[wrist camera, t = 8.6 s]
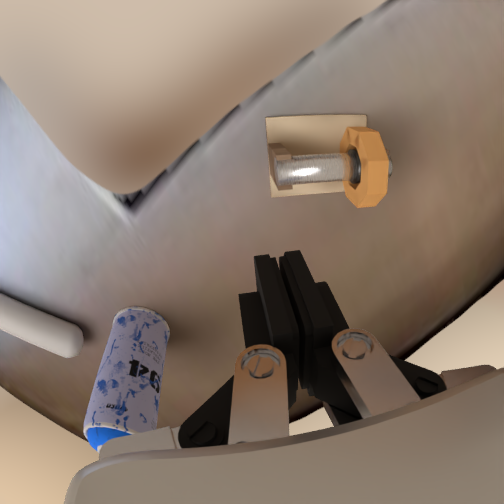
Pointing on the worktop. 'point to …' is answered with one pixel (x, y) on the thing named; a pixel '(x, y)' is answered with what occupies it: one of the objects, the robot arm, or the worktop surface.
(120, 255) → the worktop surface
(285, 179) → the pipe
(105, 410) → the aerosol can
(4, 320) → the tube
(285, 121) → the base board
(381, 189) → the o ring
